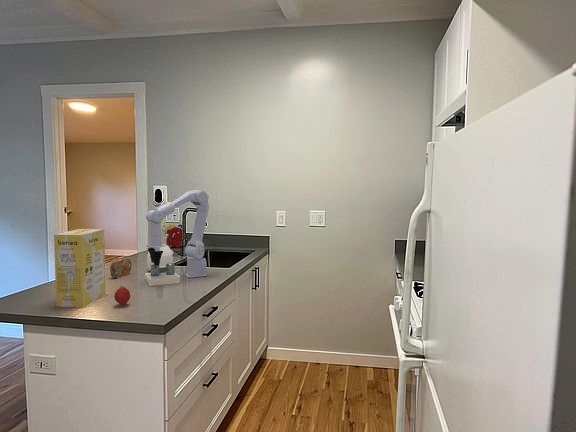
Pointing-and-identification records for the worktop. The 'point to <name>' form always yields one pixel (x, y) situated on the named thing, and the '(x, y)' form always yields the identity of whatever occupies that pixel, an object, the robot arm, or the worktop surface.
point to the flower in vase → (164, 236)
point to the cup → (162, 257)
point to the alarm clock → (174, 235)
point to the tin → (120, 268)
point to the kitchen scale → (162, 278)
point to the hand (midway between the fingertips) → (155, 263)
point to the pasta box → (79, 267)
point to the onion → (122, 295)
